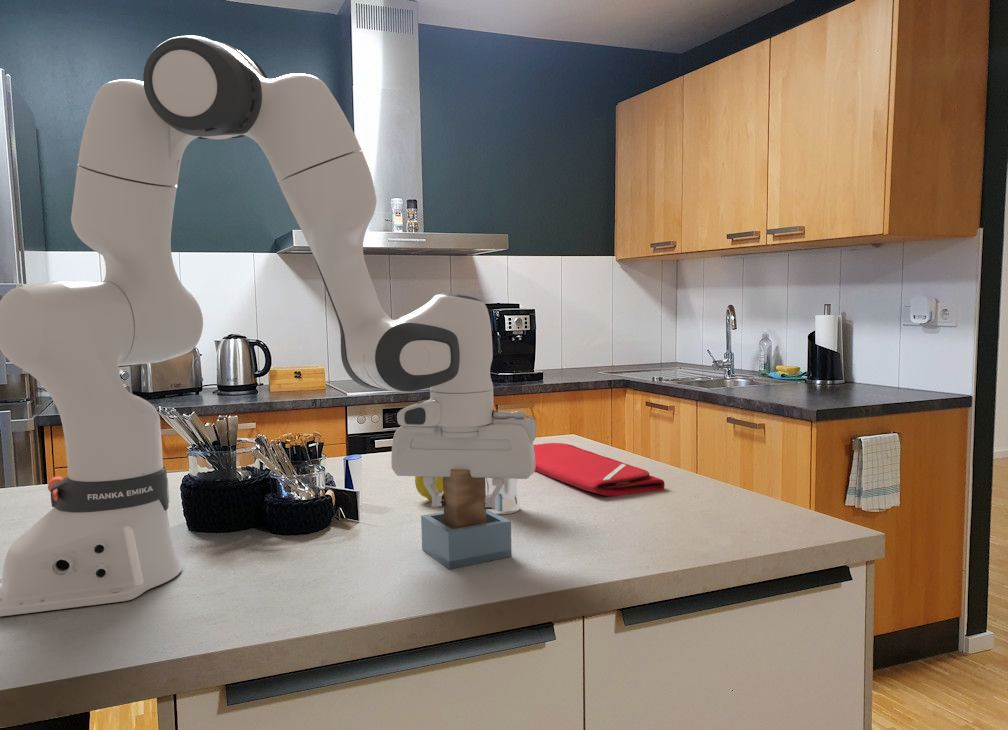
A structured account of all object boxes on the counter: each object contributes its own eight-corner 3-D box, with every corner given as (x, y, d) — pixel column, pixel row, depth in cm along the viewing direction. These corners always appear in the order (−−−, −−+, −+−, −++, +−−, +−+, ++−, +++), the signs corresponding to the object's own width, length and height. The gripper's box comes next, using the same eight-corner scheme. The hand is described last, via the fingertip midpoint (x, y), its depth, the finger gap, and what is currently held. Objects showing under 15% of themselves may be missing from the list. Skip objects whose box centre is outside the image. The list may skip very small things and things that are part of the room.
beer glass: (508, 517, 125) (506, 427, 123) (473, 512, 128) (471, 424, 127) (529, 507, 130) (528, 421, 129) (495, 502, 134) (494, 418, 133)
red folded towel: (565, 453, 179) (565, 437, 178) (667, 492, 141) (667, 472, 141) (504, 460, 173) (503, 444, 172) (593, 502, 135) (593, 482, 135)
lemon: (441, 505, 133) (440, 460, 132) (411, 504, 134) (410, 460, 133) (450, 497, 138) (449, 454, 138) (421, 496, 139) (419, 453, 139)
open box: (449, 569, 101) (448, 532, 100) (422, 549, 109) (421, 515, 109) (511, 556, 105) (510, 521, 105) (480, 538, 114) (480, 505, 113)
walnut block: (457, 543, 104) (455, 471, 103) (444, 534, 108) (442, 465, 107) (486, 538, 106) (485, 467, 105) (472, 529, 110) (471, 462, 109)
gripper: (539, 407, 107) (540, 503, 108) (400, 406, 111) (402, 499, 112) (532, 414, 101) (534, 516, 102) (385, 413, 104) (388, 511, 105)
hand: (464, 507), depth 107 cm, fingers closed on walnut block, 6 cm apart
